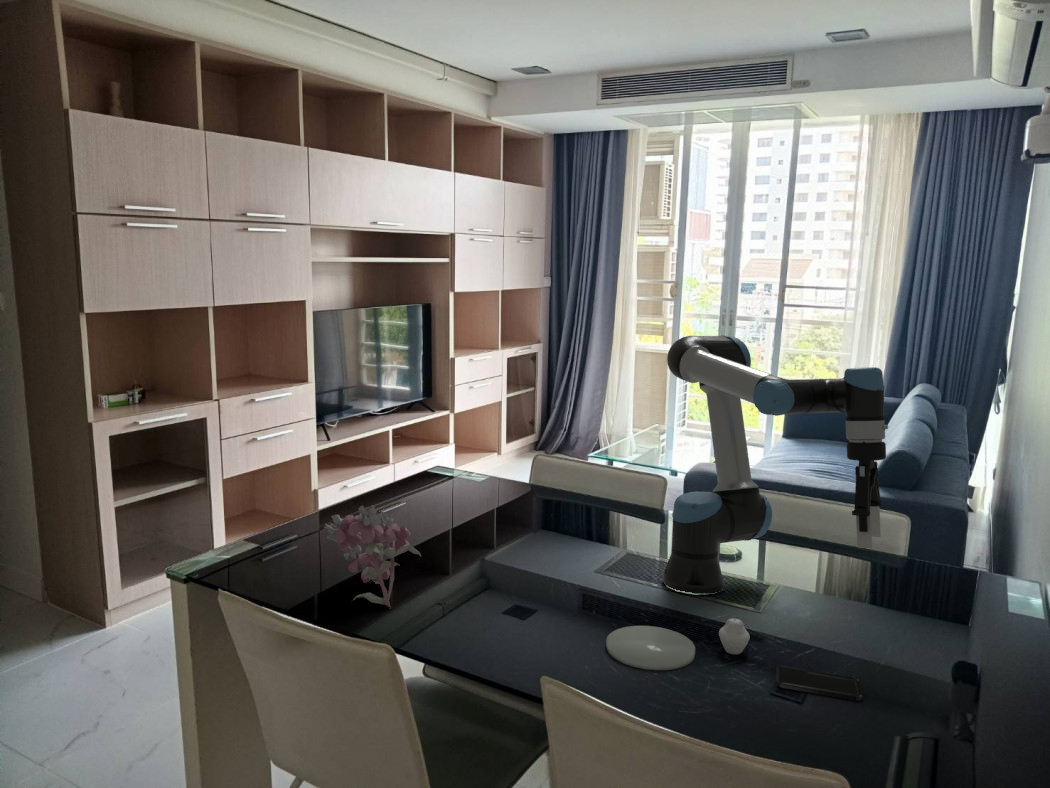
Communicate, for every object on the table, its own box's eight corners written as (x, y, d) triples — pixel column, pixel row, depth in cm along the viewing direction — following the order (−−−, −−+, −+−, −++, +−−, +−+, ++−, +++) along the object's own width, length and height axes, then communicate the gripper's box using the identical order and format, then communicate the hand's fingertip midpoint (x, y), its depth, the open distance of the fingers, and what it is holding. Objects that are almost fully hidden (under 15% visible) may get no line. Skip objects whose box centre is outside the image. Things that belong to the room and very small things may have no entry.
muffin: (743, 660, 153) (745, 627, 152) (713, 652, 156) (715, 620, 155) (752, 649, 158) (754, 617, 157) (723, 641, 161) (725, 610, 160)
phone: (862, 698, 138) (775, 682, 142) (862, 704, 138) (775, 688, 142) (859, 678, 145) (776, 664, 150) (858, 683, 145) (776, 669, 150)
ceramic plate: (588, 643, 158) (588, 638, 158) (649, 624, 169) (649, 619, 169) (651, 678, 144) (651, 672, 144) (713, 655, 155) (713, 649, 155)
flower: (452, 585, 185) (420, 488, 189) (400, 607, 165) (365, 498, 169) (388, 607, 193) (358, 513, 197) (330, 631, 173) (299, 525, 177)
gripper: (877, 444, 148) (881, 554, 147) (892, 437, 169) (895, 533, 169) (836, 444, 152) (840, 551, 151) (855, 437, 173) (858, 531, 173)
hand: (869, 541), depth 160 cm, fingers open, 13 cm apart
